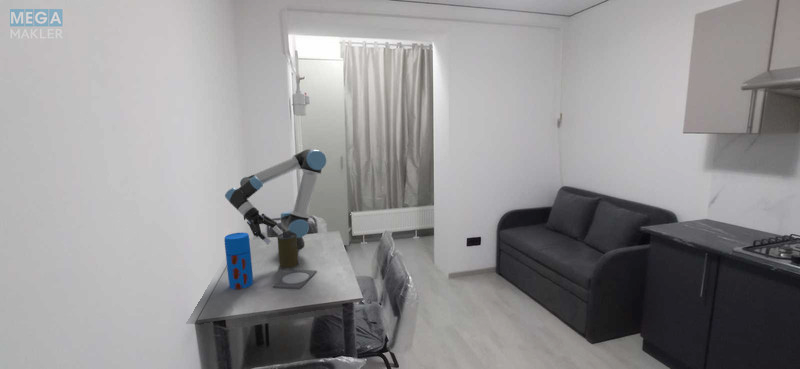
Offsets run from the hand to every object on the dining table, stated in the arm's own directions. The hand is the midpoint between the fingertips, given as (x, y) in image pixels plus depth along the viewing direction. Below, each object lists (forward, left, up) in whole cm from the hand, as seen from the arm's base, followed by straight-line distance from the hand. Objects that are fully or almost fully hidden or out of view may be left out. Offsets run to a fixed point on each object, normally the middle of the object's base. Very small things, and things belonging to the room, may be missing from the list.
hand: (275, 238), depth 194 cm
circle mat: (+16, +18, -16) cm, 29 cm away
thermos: (+25, -6, -16) cm, 30 cm away
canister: (-1, +6, -16) cm, 17 cm away
